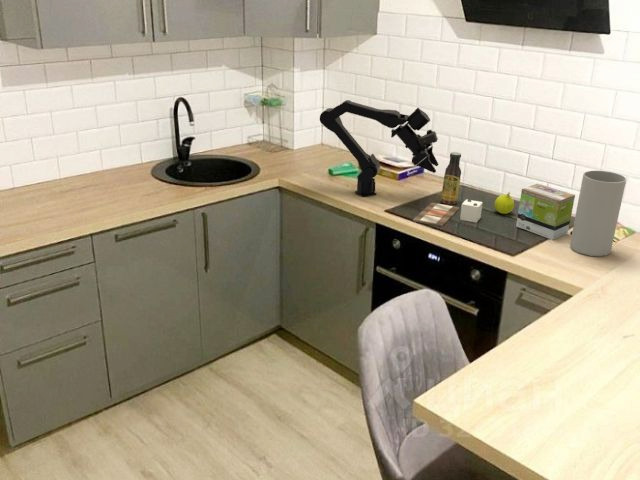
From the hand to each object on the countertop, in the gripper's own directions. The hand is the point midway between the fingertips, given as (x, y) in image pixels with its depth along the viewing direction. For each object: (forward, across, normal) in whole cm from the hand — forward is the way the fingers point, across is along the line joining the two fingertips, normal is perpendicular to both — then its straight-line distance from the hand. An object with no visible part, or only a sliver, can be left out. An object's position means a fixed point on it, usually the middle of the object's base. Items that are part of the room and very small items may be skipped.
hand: (436, 168), depth 245 cm
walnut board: (+11, -15, +7) cm, 20 cm away
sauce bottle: (+14, 0, +5) cm, 15 cm away
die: (+20, -15, -1) cm, 25 cm away
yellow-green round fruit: (+28, -5, -9) cm, 30 cm away
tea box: (+38, -19, -18) cm, 46 cm away
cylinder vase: (+48, -31, -29) cm, 64 cm away
